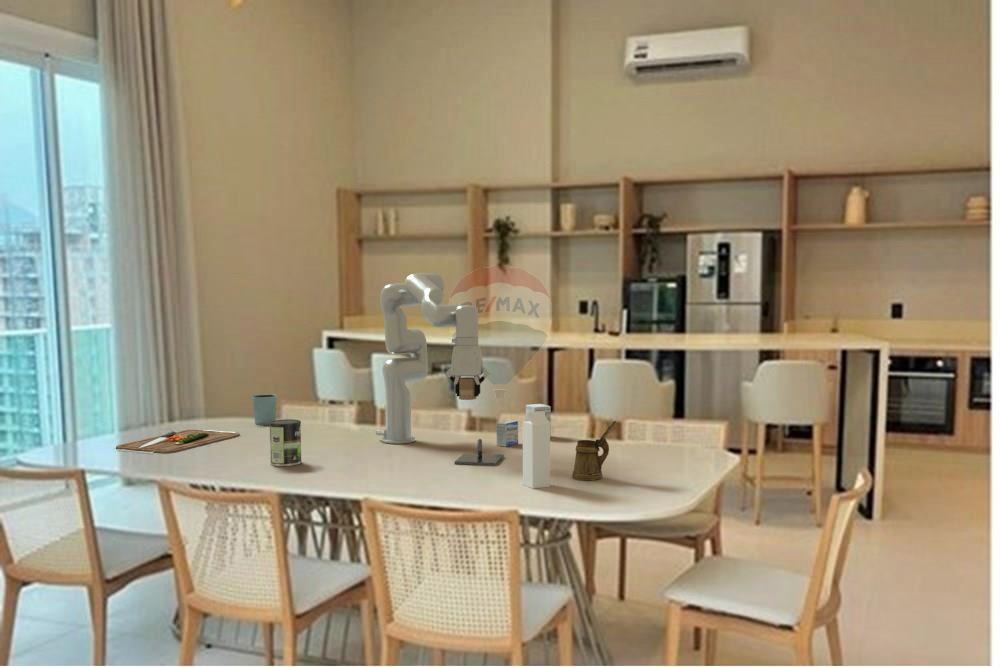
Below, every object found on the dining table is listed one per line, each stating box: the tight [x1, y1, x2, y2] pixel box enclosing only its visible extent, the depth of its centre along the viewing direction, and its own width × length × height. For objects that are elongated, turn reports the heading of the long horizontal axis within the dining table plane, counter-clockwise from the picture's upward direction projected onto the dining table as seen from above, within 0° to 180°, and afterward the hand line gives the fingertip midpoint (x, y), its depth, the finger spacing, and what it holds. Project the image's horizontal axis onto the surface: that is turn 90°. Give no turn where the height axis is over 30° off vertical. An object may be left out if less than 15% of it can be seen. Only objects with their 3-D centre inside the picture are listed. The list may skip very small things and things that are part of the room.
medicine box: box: [495, 419, 519, 448], centre depth 316 cm, size 8×4×9 cm, turn 143°
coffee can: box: [269, 418, 302, 467], centre depth 285 cm, size 10×10×14 cm
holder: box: [454, 438, 505, 467], centre depth 288 cm, size 14×14×7 cm
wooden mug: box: [571, 420, 617, 482], centre depth 261 cm, size 9×14×18 cm, turn 71°
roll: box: [458, 376, 477, 401], centre depth 287 cm, size 6×6×7 cm
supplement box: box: [525, 403, 552, 439], centre depth 331 cm, size 7×7×13 cm
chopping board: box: [115, 429, 241, 455], centre depth 325 cm, size 45×27×3 cm, turn 158°
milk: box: [522, 411, 551, 490], centre depth 251 cm, size 6×6×22 cm
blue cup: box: [251, 393, 277, 426], centre depth 368 cm, size 10×10×12 cm
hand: (467, 395), depth 287 cm, fingers closed on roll, 5 cm apart
